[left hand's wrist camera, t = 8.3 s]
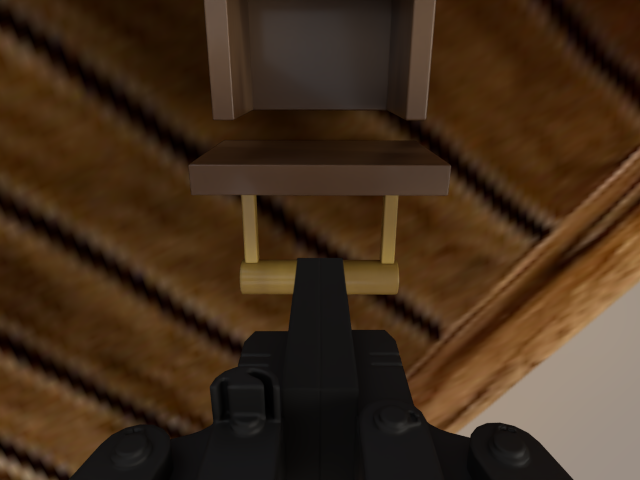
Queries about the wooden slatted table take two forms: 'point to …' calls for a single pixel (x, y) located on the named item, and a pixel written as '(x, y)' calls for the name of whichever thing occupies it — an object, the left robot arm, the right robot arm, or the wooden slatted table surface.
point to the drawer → (319, 94)
